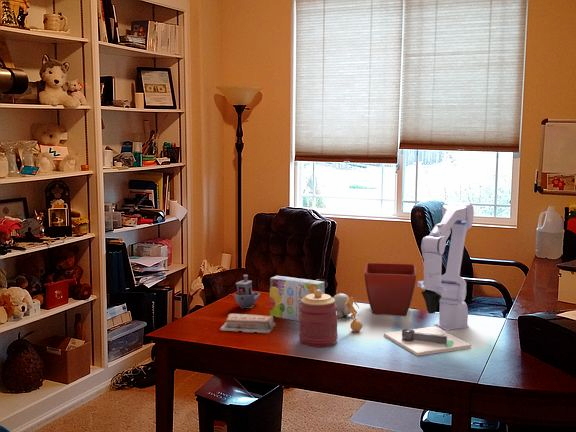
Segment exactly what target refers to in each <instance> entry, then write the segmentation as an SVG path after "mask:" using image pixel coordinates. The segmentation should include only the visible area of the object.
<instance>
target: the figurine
mask: <svg viewBox="0 0 576 432" xmlns="http://www.w3.org/2000/svg"><path fill="white" fill-rule="evenodd" d="M346 305H348V306H349V311H350V312H351V313H350V318H351V319H352V320H351V322H350V329H351V330H352V331H353V332H356V333H357V332H360V331H361V329H362V327H363V324H362V322H361V321H360V320H358V318H356V315H357V314H358V311H357V310H356V309H355V307H354V306H353V305H355V306H357V308H358V309H360V306H359V305H358V304H357V302H356V301H355V299H354V297H353V296H351V297H349V298H347V299H346V303H345V309H346V313H348V311H347V308H346Z"/></svg>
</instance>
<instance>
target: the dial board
mask: <svg viewBox="0 0 576 432" xmlns="http://www.w3.org/2000/svg"><path fill="white" fill-rule="evenodd" d="M412 330H414V332H420V333H428V334H437V335H447V343H446V344H444V343H436V342H427V341H419V340H413V341H405V340H402V330H398V331H389V332H383V337H385V338H386V339H388V340H390V341H392V342H393V343H395V344H396V345H398V346H399V347H402V348H403V349H405V350H407V351H408V352H410V353H412V354H413V355H415V356H416V357H418V356H426V355H431V354H437V353H446V352H452V351H459V350H466V349H472V344H470V343H468V342H467V341H465V340H462V339H460V338H458V337H456V336H454V335H452V334H450V333H448V332H446V331H444V330H442V329H440V328H438V327H436V326H428V327H421V328H419V327H418V328H412Z"/></svg>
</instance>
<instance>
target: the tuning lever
mask: <svg viewBox="0 0 576 432" xmlns="http://www.w3.org/2000/svg"><path fill="white" fill-rule="evenodd" d="M412 329H413V328H412ZM412 329H411V328H404V329H402V330H401V331H402V340H405V341H413V340H419V341H427V342H436V343H444V344H446V343H447V335H437V334H428V333H420V332H414V330H412Z"/></svg>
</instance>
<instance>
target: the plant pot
mask: <svg viewBox="0 0 576 432" xmlns="http://www.w3.org/2000/svg"><path fill="white" fill-rule="evenodd" d="M363 275H364V281H365V289H366V294H367V299H368V304H369V307H370V310H371V313H372V315H379V316H399V317H400V316H401V317H403V316H404V317H406V316H407V315H408V312H409V309H410V307H411V303H412V301H413V295H414V292H415V291H414V290H415V286H416V281H417V269H416V264H413V263H410V264H409V263H390V262H389V263H386V262H383V263H382V262H381V263H380V262H367V263H366V265H365V269H364V274H363Z"/></svg>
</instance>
